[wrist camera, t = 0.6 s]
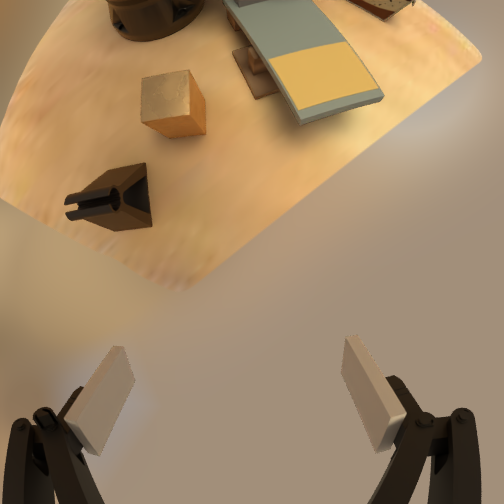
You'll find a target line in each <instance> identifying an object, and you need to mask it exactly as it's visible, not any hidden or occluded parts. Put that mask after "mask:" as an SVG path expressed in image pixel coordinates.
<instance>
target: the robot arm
mask: <svg viewBox="0 0 504 504" xmlns="http://www.w3.org/2000/svg"><path fill="white" fill-rule="evenodd" d="M106 1H107V2H108V6H109V12H110V17H111V22H112V24H113V26H114V28H115V29H116V30H117V31H118V32H119V34H120V35H122V36H123V37H124V38H126V39H129V40H133V41H150V40H156V39H159V38H163V37H166V36H168V35H170V34H173V33H175V32H177V31H178V30H180V29H182V28H183V27H185V26H186V25H188V24H189V23H190V22H191V21H192V20H193V19H194V18H195V17H196V16H197V15H198V14H199V12H200V11H201V9H202V7H203V5H204V1H205V0H106ZM341 374H342V376H343V379H344V381H345V383H346V385H347V388H348V390H349V392H350V394H351V396H352V399H353V401H354V404H355V406H356V408H357V411H358V413H359V415H360V417H361V420H362V422H363V425H364V427H365V429H366V432H367V434H368V436H369V439H370V441H371V443H372V446H373V448H374V451H375V453H379V452H382V451H386V450H389V449H390V448H391V446H392V444H393V442H394V444H395V447H396V450H395V452H394V454H393V456H392V457H391V461H390V463H389V465H388V467H387V469H386V471H385V473H384V475H383V477H382V479H381V481H380V482H379V485H378V486H377V488H376V490H375V492H374V494H373V495H372V497H371V499H370V500H369V502H368V504H408V503H409V501H410V498H411V496H412V494H413V492H414V489H415V487H416V485H417V482H418V480H419V477H420V474H421V472H422V469H423V466H424V463H425V461H426V458H427V456H431V474H430V486H429V496H428V504H481V468H480V454H479V445H478V437H477V430H476V423H475V417H474V414H473V413H472V412H471V411H470V410H469V409H467V408H458V409H456V410H454V411H453V413H452V414H451V416H448V417H440V418H435V417H434V416H433V415H432V414H430V413H428V412H423V411H422V410H421V408H420V407H419V405H418V404H417V402H416V401H415V399H414V398H413V396H412V395H411V393H410V392H409V390H408V389H407V388H406V386H405V384H404V383H403V381H402V380H401V379H399V378H398V377H396V376H395V375H393V376H390V377H384V375H383V373H382V372H381V370H380V369H379V367H378V366H377V364H376V363H375V361H374V359H373V358H372V356H371V355H370V353H369V352H368V350H367V348H366V347H365V345H364V344H363V342H362V341H361V339H360V338H359V336H358V335H353V336H346V337H345V345H344V353H343V361H342V369H341ZM134 383H135V378H134V375H133V373H132V370H131V367H130V364H129V361H128V358H127V355H126V352H125V350H124V347H121V346H113V347H112V348H111V350H110V351H109V353H108V354H107V355H106V357H105V358H104V360H103V361H102V363H101V364H100V365H99V367H98V368H97V370H96V371H95V372H94V374H93V375H92V377H91V378H90V380H89V381H88V383H87V384H86V385H85V387H81V386H80V387H79V388H78V389H76V390H75V391H74V392H73V394H72V395H71V397H70V398H69V399H68V401H67V403H66V404H65V405H64V407H63V408H62V410H61V411H60V412H59V414H58V415H57V416H56V415H55V413H54V412H53V410H52V409H51V408H48V407H42V408H40V409H38V410H37V411H35V413H34V414H33V420H34V421H35V423H36V424H37V425H31V423H30V422H29V420H28V419H26V418H20V419H17V420H16V421H15V422H14V423H13V425H12V428H11V433H10V438H9V443H8V449H7V456H6V463H5V471H4V481H3V498H2V504H55V496H54V490H55V493H56V496H57V499H58V502H59V504H105V503H104V501H103V499H102V497H101V495H100V493H99V491H98V489H97V487H96V485H95V482H94V480H93V478H92V475H91V473H90V471H89V468H88V466H87V463H86V461H85V458H84V455H83V454H82V452H81V450H82V448H83V447H84V448H85V450H86V451H87V452H88V453H90V454H93V455H97V456H100V455H101V453H102V451H103V448H104V446H105V444H106V442H107V439H108V437H109V435H110V433H111V431H112V429H113V426H114V424H115V422H116V420H117V418H118V416H119V414H120V412H121V410H122V407H123V405H124V403H125V401H126V399H127V397H128V395H129V393H130V391H131V389H132V387H133V385H134Z"/></svg>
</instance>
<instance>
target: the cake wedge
mask: <svg viewBox="0 0 504 504" xmlns="http://www.w3.org/2000/svg"><path fill="white" fill-rule="evenodd" d="M346 1H348V2H350V3H352V4H353V5H355V6H357V7H359V8H361V9H363V10H365V11H366V12H368V13H370V14H372V15H373V16H375V17H377V18H378V19H380V20H382V21H383V22H385V21H386V20H388V19H389V18H390V17H392V16H393V15H394V14H396V13H397V12H399V11H400V10H401V9H403V8H404V7H406V6H407V5H408V4H410V3H411V2H412V6H414V4H415V2H416V0H346Z"/></svg>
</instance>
